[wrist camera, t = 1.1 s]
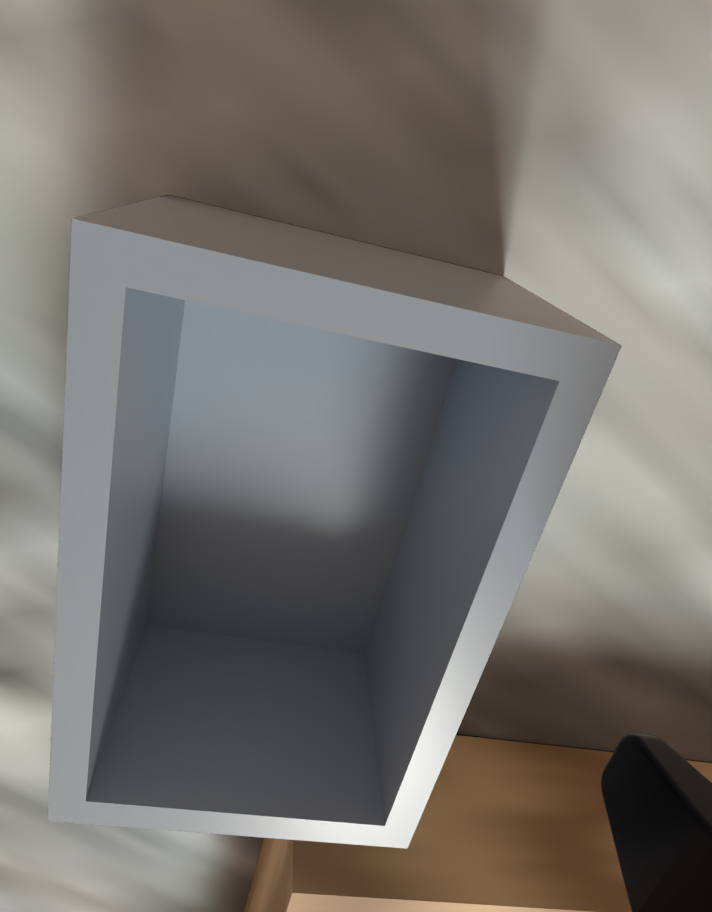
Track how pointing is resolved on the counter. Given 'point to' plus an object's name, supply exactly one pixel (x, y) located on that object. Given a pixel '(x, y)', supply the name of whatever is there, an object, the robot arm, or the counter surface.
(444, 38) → the counter surface
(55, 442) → the counter surface
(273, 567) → the small crate
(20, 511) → the counter surface
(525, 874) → the big crate
